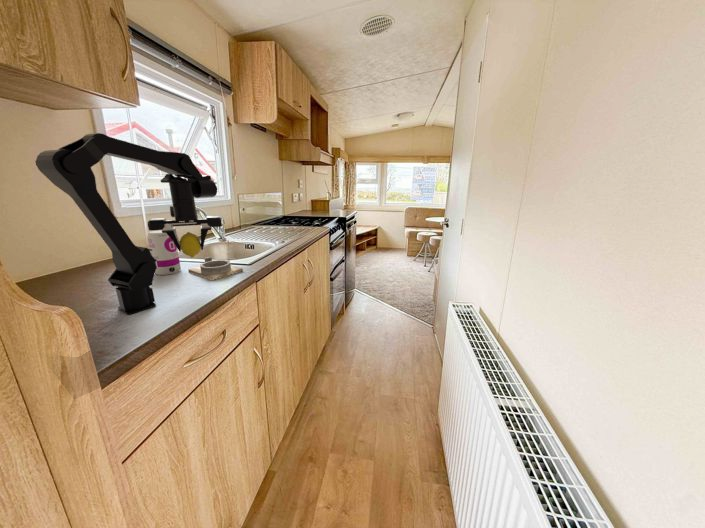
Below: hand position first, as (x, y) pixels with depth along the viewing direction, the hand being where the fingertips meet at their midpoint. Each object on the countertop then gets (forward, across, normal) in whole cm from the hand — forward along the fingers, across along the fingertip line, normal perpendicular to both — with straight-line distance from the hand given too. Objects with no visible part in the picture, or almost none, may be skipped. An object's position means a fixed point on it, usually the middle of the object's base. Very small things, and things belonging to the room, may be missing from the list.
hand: (191, 250), depth 86 cm
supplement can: (+12, +10, -19) cm, 25 cm away
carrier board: (+12, -6, -12) cm, 18 cm away
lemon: (+2, 0, 0) cm, 2 cm away
